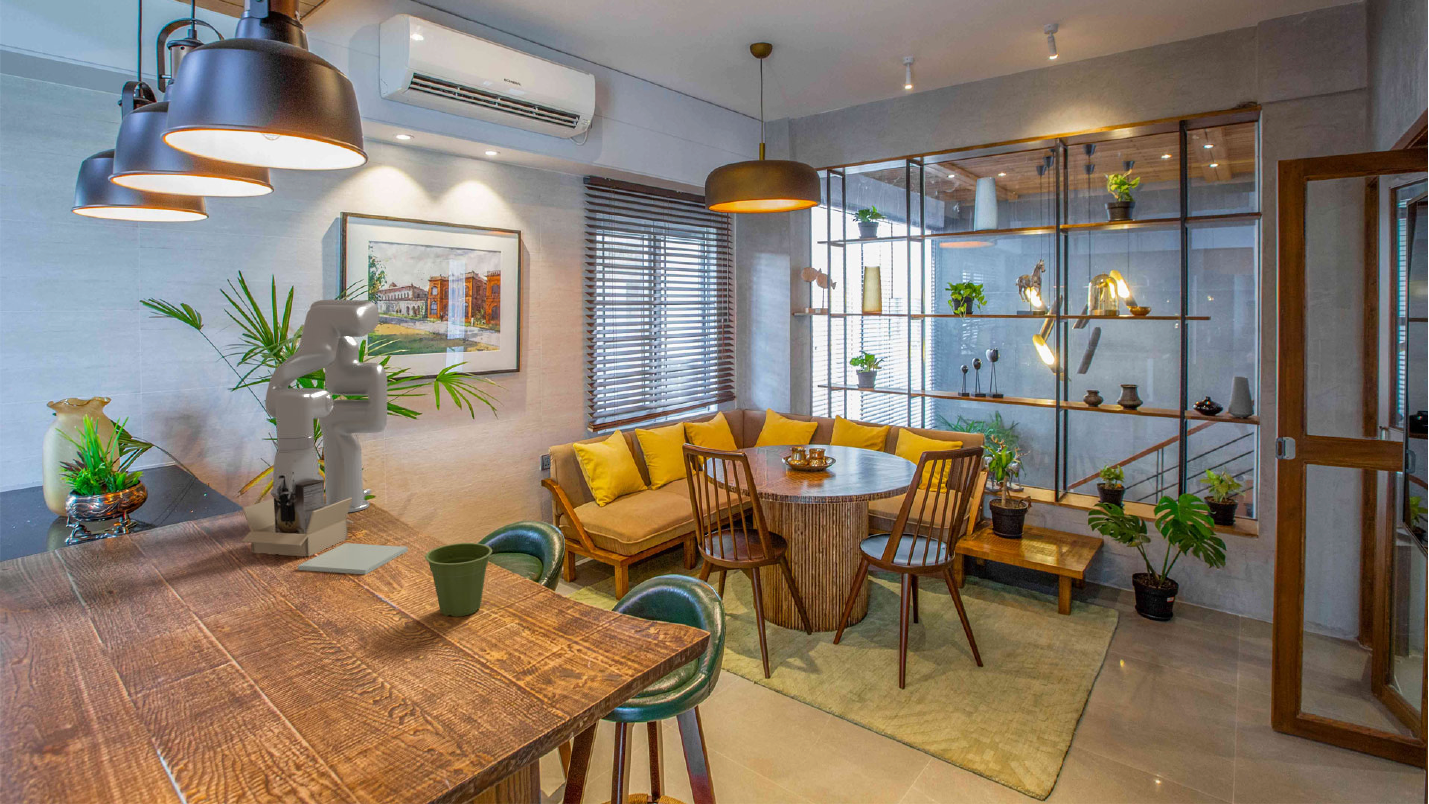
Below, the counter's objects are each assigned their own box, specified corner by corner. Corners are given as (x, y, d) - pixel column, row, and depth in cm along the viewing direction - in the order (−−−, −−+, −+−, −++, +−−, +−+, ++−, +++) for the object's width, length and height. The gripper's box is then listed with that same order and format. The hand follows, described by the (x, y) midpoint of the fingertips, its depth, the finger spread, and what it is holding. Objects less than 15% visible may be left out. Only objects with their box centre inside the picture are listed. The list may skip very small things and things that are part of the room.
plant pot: (413, 613, 130) (411, 555, 129) (465, 593, 140) (464, 539, 139) (455, 628, 124) (453, 567, 123) (506, 606, 134) (505, 549, 133)
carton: (295, 532, 178) (293, 491, 177) (361, 536, 176) (359, 494, 175) (235, 556, 160) (232, 510, 158) (307, 561, 157) (305, 514, 156)
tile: (345, 547, 167) (345, 543, 167) (407, 551, 165) (407, 546, 165) (297, 569, 152) (297, 565, 151) (365, 574, 149) (365, 570, 149)
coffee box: (274, 547, 166) (271, 481, 164) (297, 540, 172) (294, 476, 170) (304, 551, 163) (301, 484, 162) (327, 543, 169) (324, 479, 168)
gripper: (307, 437, 174) (310, 507, 176) (253, 449, 157) (257, 526, 159) (335, 438, 173) (338, 508, 175) (283, 450, 156) (287, 528, 158)
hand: (299, 516), depth 167 cm, fingers closed on coffee box, 7 cm apart
